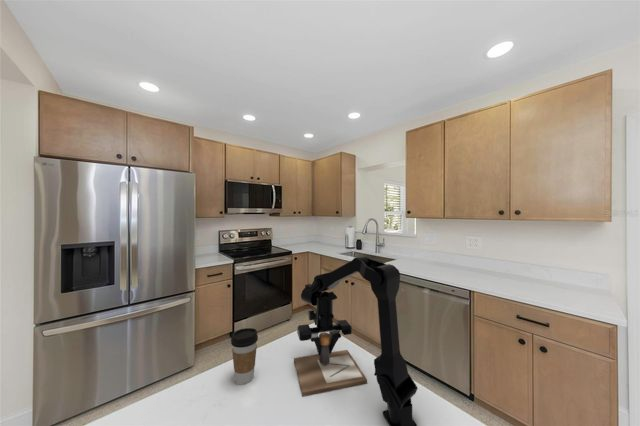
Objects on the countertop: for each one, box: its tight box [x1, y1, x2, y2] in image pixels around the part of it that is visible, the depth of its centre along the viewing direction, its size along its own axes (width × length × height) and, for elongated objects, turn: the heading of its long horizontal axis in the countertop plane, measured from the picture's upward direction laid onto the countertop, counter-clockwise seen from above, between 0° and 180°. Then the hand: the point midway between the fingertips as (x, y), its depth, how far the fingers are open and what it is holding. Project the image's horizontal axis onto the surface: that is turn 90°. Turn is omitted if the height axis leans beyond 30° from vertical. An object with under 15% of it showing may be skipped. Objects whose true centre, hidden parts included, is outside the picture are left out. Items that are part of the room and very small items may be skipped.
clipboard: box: [293, 349, 368, 397], centre depth 79 cm, size 17×21×2 cm
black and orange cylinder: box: [318, 332, 330, 364], centre depth 82 cm, size 4×4×9 cm
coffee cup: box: [230, 327, 259, 385], centre depth 76 cm, size 8×8×15 cm
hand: (324, 353), depth 81 cm, fingers closed on black and orange cylinder, 4 cm apart
